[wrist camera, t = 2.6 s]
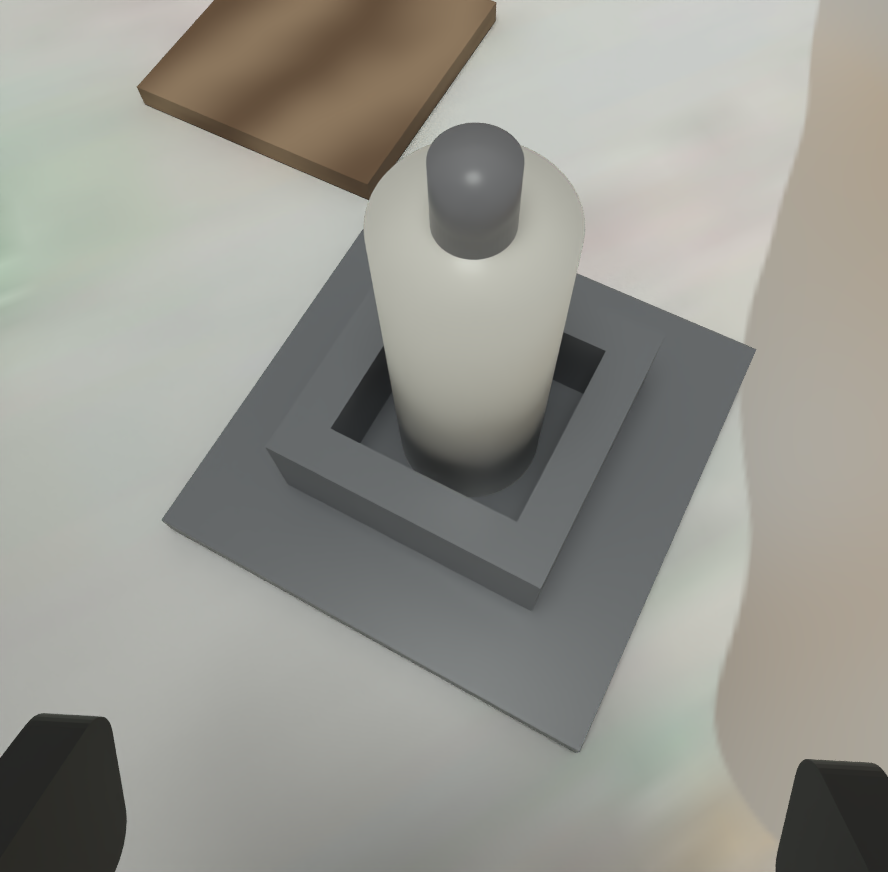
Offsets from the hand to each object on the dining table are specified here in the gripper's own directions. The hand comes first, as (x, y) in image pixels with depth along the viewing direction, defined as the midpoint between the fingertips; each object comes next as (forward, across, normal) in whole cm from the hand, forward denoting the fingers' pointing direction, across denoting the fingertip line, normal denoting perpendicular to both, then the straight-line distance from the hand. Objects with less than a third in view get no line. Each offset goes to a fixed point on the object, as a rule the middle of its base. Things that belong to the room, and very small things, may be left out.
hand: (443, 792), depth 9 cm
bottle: (+20, 0, +3) cm, 20 cm away
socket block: (+21, 0, +4) cm, 21 cm away
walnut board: (+34, +8, -10) cm, 36 cm away
